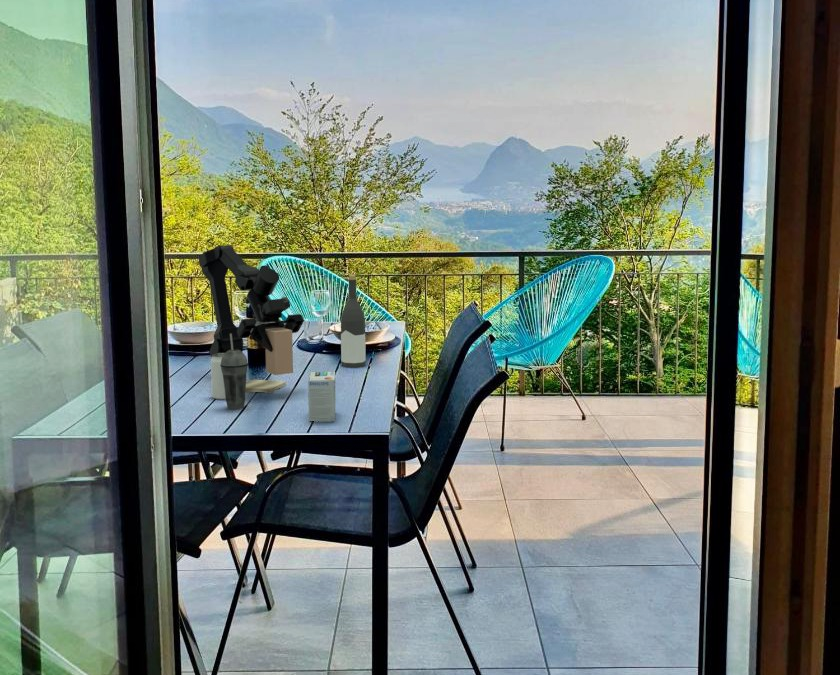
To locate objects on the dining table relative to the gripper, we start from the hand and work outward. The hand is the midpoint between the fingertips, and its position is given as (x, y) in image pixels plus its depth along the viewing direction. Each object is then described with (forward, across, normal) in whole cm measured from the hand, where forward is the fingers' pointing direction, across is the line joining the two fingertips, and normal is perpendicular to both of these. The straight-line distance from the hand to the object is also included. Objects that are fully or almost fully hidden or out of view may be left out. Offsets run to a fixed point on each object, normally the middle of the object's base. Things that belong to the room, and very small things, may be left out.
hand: (281, 349), depth 242 cm
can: (+3, -13, +17) cm, 21 cm away
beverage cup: (+12, -16, +7) cm, 21 cm away
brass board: (0, 0, +19) cm, 19 cm away
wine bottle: (-9, +41, +29) cm, 51 cm away
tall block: (+4, 0, +6) cm, 7 cm away
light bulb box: (+28, -2, -9) cm, 29 cm away
